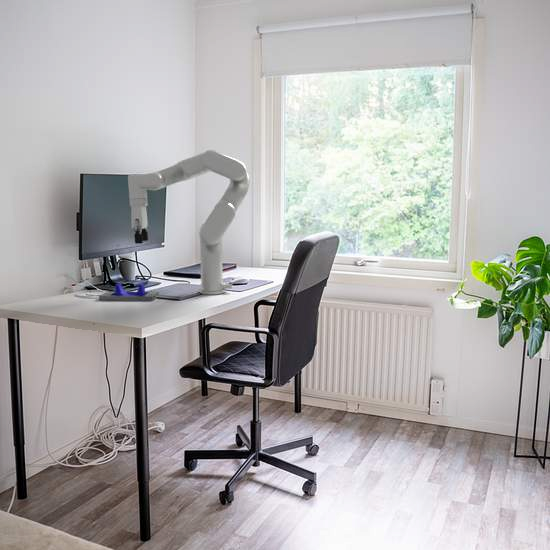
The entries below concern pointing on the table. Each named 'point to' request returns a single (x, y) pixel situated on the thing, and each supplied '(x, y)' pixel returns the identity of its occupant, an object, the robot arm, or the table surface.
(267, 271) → the table surface
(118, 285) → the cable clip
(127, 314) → the table surface
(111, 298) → the dark grey flat slab
